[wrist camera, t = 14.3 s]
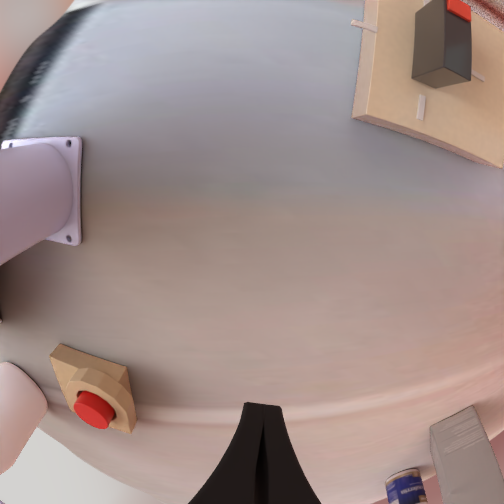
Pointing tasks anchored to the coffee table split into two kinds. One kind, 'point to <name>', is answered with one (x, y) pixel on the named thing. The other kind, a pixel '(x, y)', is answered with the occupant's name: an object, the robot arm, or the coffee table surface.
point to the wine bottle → (17, 412)
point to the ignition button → (94, 410)
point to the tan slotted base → (423, 96)
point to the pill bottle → (406, 488)
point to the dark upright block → (442, 44)
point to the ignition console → (95, 383)
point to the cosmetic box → (465, 461)
